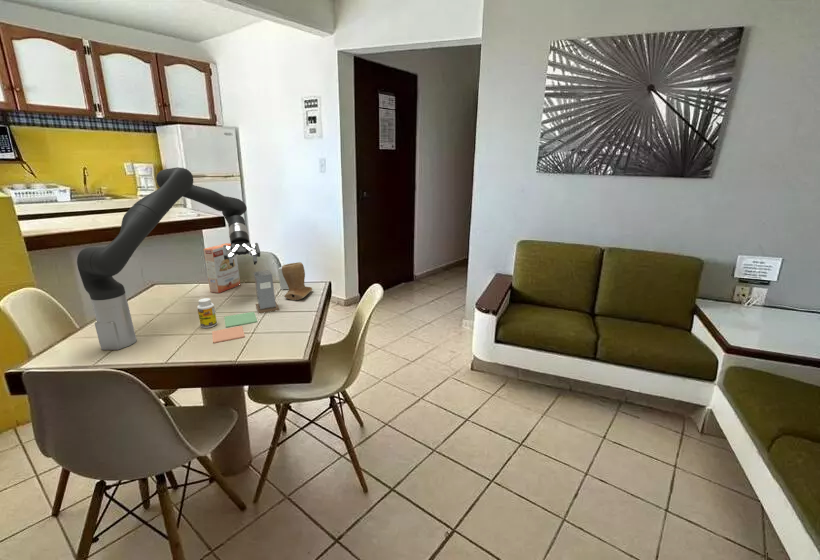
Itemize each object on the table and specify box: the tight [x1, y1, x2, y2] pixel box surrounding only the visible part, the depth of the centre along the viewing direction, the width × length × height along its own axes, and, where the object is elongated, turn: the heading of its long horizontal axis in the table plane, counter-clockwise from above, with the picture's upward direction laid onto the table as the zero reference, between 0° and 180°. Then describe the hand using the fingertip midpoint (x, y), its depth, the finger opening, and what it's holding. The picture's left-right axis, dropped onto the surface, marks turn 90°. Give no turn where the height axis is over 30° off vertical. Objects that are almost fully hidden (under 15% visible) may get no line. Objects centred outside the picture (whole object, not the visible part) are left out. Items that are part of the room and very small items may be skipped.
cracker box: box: [203, 242, 241, 294], centre depth 189 cm, size 14×6×21 cm, turn 160°
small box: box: [277, 265, 289, 291], centre depth 191 cm, size 8×6×10 cm
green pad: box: [223, 311, 258, 329], centre depth 154 cm, size 11×11×1 cm
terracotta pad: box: [211, 325, 246, 344], centre depth 141 cm, size 10×10×1 cm
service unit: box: [253, 269, 280, 314], centre depth 163 cm, size 9×8×15 cm
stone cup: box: [281, 261, 313, 301], centre depth 178 cm, size 15×12×15 cm
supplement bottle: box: [196, 297, 218, 329], centre depth 147 cm, size 6×6×10 cm
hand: (244, 264), depth 165 cm, fingers open, 8 cm apart
